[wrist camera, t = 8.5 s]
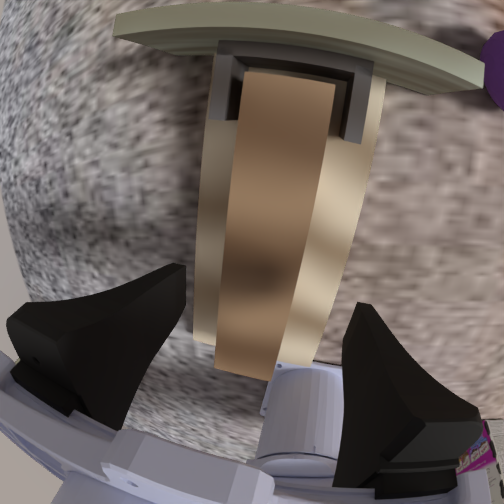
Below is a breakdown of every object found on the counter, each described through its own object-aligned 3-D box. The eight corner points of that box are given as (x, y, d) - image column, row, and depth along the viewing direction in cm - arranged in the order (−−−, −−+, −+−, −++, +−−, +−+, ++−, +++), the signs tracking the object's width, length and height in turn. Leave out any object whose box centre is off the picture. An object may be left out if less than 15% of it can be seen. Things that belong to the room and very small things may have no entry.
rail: (278, 343, 23) (270, 381, 19) (229, 332, 23) (214, 367, 20) (331, 92, 15) (335, 84, 11) (260, 81, 15) (244, 71, 12)
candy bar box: (458, 458, 29) (467, 544, 14) (436, 459, 29) (442, 552, 15) (506, 416, 24) (529, 514, 9) (484, 417, 24) (506, 524, 10)
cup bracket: (344, 364, 24) (344, 432, 17) (166, 323, 26) (128, 378, 20) (430, 78, 13) (484, 63, 7) (178, 39, 15) (116, 14, 9)
